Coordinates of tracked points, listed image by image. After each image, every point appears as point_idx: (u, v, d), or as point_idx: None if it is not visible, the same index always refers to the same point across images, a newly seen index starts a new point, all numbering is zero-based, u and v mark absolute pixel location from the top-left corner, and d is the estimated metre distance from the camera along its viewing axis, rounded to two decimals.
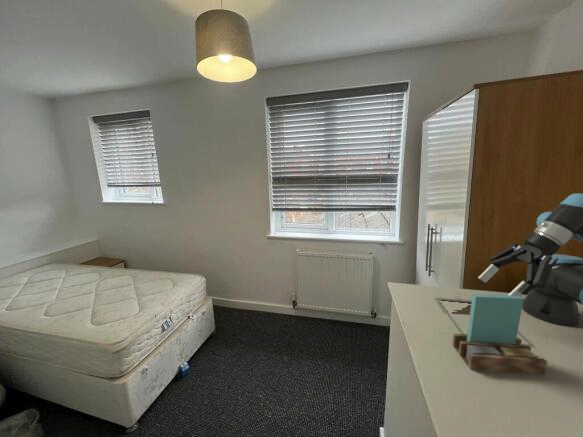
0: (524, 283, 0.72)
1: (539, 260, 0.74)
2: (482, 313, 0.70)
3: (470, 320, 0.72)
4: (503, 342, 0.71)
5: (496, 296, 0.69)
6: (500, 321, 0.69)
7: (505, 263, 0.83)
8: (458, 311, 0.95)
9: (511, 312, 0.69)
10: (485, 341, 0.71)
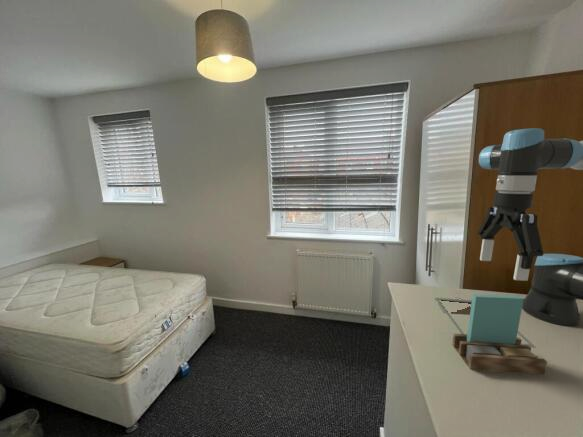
0: (521, 256, 0.60)
1: (521, 220, 0.62)
2: (482, 313, 0.70)
3: (470, 320, 0.72)
4: (503, 342, 0.71)
5: (496, 296, 0.69)
6: (500, 321, 0.69)
7: (495, 232, 0.71)
8: (458, 311, 0.95)
9: (511, 312, 0.69)
10: (485, 341, 0.71)
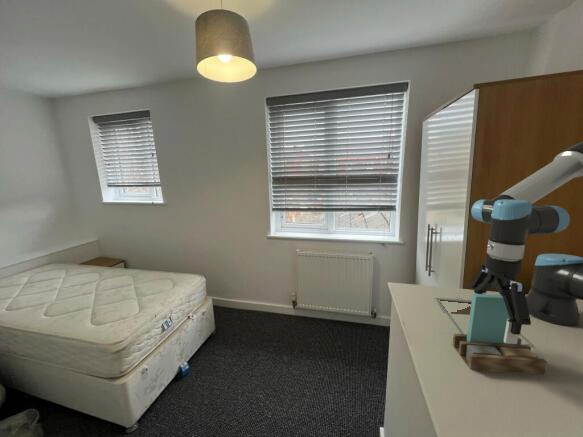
0: (510, 322, 0.63)
1: (510, 285, 0.65)
2: (482, 313, 0.70)
3: (470, 320, 0.72)
4: (503, 342, 0.71)
5: (496, 296, 0.69)
6: (500, 321, 0.69)
7: (486, 289, 0.74)
8: (458, 311, 0.95)
9: None
10: (485, 341, 0.71)
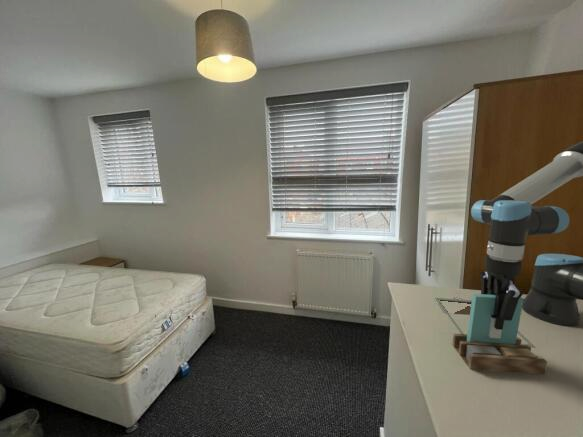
0: (494, 318, 0.69)
1: None
2: (482, 313, 0.70)
3: (470, 320, 0.72)
4: (503, 342, 0.71)
5: None
6: None
7: None
8: (458, 311, 0.95)
9: None
10: (485, 341, 0.71)
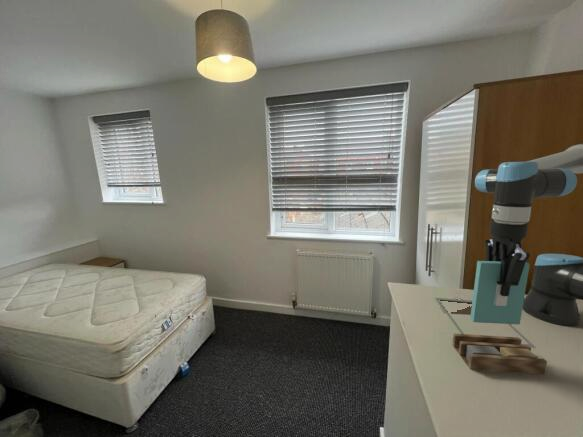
0: (499, 285, 0.67)
1: None
2: (487, 280, 0.68)
3: (475, 288, 0.70)
4: (509, 310, 0.69)
5: None
6: None
7: None
8: (458, 311, 0.95)
9: None
10: (490, 309, 0.69)
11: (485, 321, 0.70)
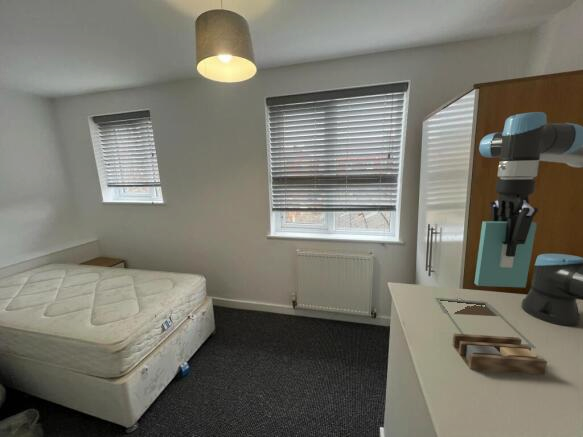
0: (505, 245, 0.65)
1: None
2: (492, 240, 0.66)
3: (480, 250, 0.67)
4: (515, 272, 0.66)
5: None
6: None
7: None
8: (458, 311, 0.95)
9: None
10: (496, 272, 0.67)
11: (490, 284, 0.68)
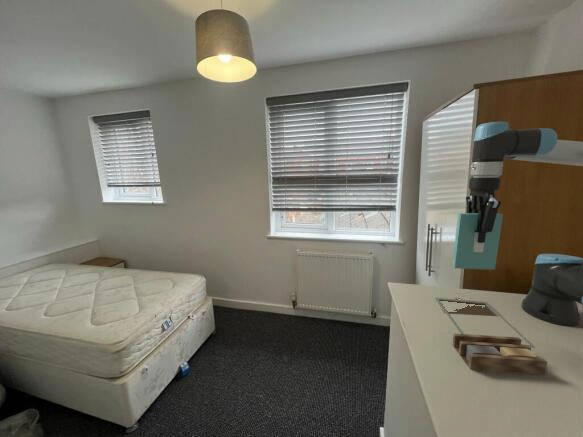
0: (477, 233, 0.77)
1: None
2: (466, 229, 0.77)
3: (456, 238, 0.79)
4: (485, 256, 0.78)
5: None
6: None
7: None
8: (458, 311, 0.95)
9: None
10: (469, 256, 0.79)
11: (465, 267, 0.80)
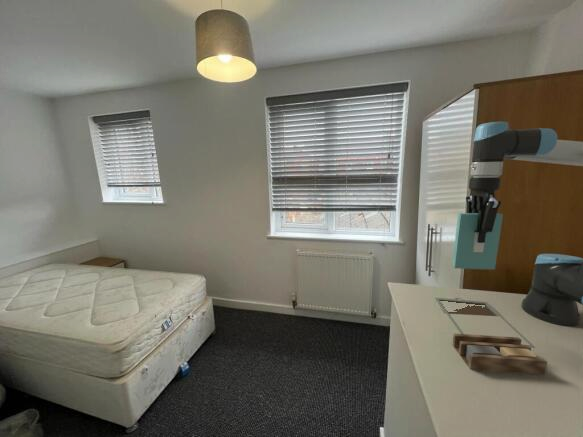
0: (477, 233, 0.77)
1: None
2: (466, 229, 0.77)
3: (456, 238, 0.79)
4: (485, 256, 0.78)
5: None
6: None
7: None
8: (458, 311, 0.95)
9: None
10: (469, 256, 0.79)
11: (465, 267, 0.80)
